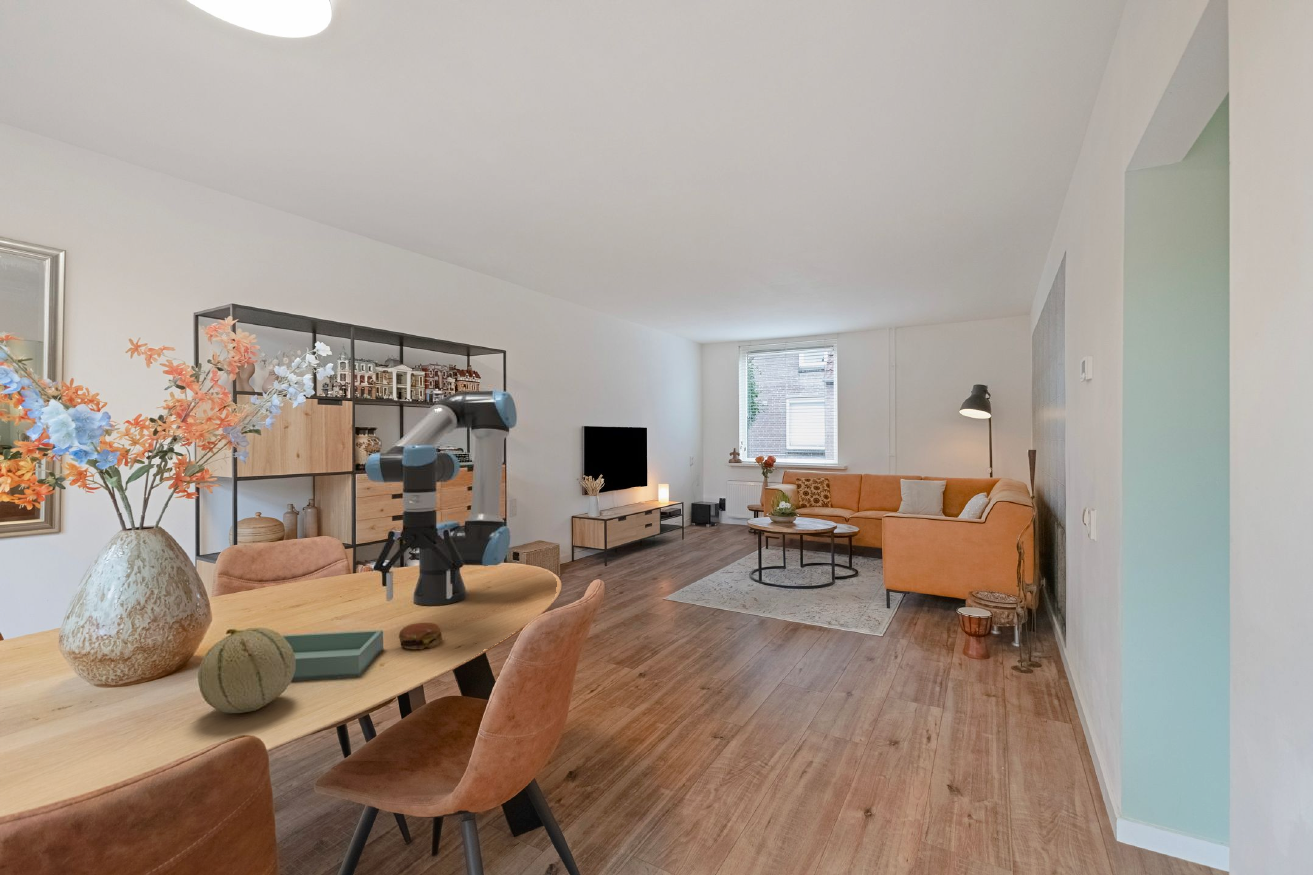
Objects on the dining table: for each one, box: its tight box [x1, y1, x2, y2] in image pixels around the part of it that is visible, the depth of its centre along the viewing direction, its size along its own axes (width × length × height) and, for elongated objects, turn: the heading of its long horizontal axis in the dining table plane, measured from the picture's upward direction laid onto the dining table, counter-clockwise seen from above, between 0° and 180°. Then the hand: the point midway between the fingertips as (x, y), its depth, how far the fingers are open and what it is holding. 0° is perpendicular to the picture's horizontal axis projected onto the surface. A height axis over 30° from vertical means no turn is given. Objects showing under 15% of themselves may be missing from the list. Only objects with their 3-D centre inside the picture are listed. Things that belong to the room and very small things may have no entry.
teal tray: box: [281, 629, 384, 682], centre depth 128 cm, size 16×24×4 cm, turn 98°
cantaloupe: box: [197, 627, 296, 714], centre depth 108 cm, size 15×15×15 cm
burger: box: [398, 622, 443, 650], centre depth 141 cm, size 10×9×5 cm
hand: (419, 598), depth 141 cm, fingers open, 13 cm apart
